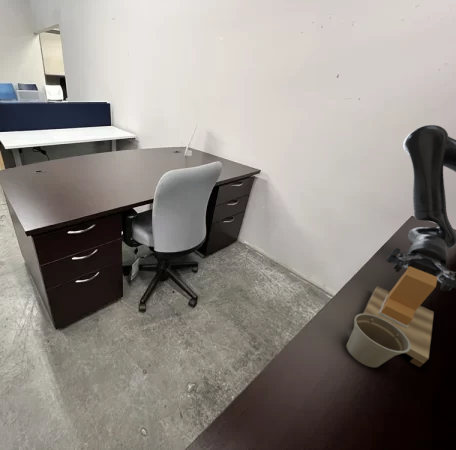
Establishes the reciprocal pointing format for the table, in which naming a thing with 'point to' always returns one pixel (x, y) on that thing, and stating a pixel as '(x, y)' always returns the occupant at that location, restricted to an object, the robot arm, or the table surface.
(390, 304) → the orange block
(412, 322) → the wooden board
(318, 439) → the table surface
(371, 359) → the flower pot
